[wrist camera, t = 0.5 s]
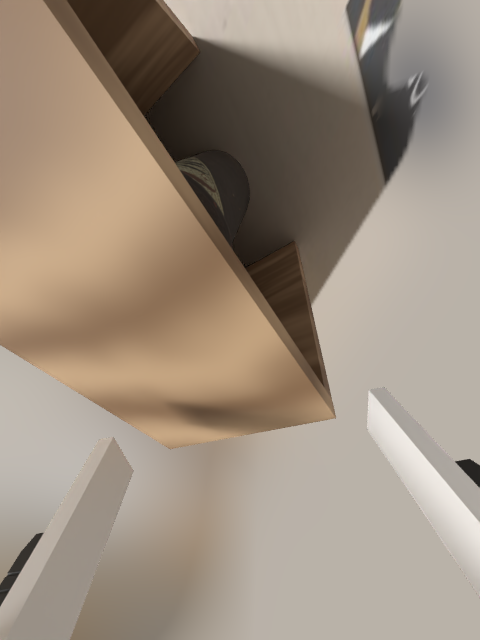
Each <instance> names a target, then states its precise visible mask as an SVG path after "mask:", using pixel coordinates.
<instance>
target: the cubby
mask: <svg viewBox="0 0 480 640" xmlns="http://www.w3.org/2000/svg"><path fill="white" fill-rule="evenodd" d="M199 53H200V51H199V49H198V47H197V45H196V43H195V41H194V39H193V37H192V35H191V34H190V33H189V32H188V30H187V29H186V28H185V27H184V25H183V24H182V23H181V22H180V20H179V19H178V18H177V17H176V15H175V14H174V13H173V12H172V11H171V9H170V8H169V7H168V6H167V4H166V3H165V2H164V1H163V0H0V345H2V346H3V347H5V348H6V349H8V350H10V351H11V352H13V353H14V354H16V355H18V356H19V357H21V358H23V359H24V360H26V361H27V362H29V363H31V364H32V365H34V366H36V367H37V368H39V369H41V370H42V371H44V372H45V373H47V374H49V375H50V376H52V377H53V378H55V379H57V380H58V381H60V382H62V383H63V384H65V385H67V386H68V387H70V388H71V389H73V390H75V391H76V392H78V393H79V394H81V395H83V396H84V397H86V398H88V399H89V400H91V401H93V402H94V403H96V404H98V405H99V406H101V407H102V408H104V409H106V410H107V411H109V412H110V413H112V414H114V415H115V416H117V417H119V418H120V419H122V420H123V421H125V422H127V423H128V424H130V425H132V426H133V427H135V428H136V429H138V430H140V431H141V432H143V433H145V434H146V435H148V436H150V437H151V438H153V439H154V440H156V441H158V442H159V443H161V444H163V445H164V446H166V447H167V448H169V449H173V448H178V447H183V446H189V445H195V444H200V443H205V442H210V441H216V440H221V439H227V438H232V437H237V436H242V435H248V434H253V433H258V432H264V431H270V430H275V429H280V428H285V427H291V426H297V425H302V424H307V423H313V422H318V421H323V420H328V419H333V418H336V415H335V411H334V406H333V402H332V398H331V393H330V389H329V384H328V380H327V375H326V371H325V366H324V362H323V358H322V353H321V348H320V344H319V339H318V335H317V331H316V327H315V322H314V317H313V313H312V308H311V304H310V299H309V295H308V290H307V286H306V281H305V277H304V272H303V268H302V263H301V259H300V254H299V250H298V247H297V245H296V243H295V241H294V242H292V243H290V244H288V245H286V246H284V247H283V248H281V249H279V250H277V251H275V252H274V253H272V254H270V255H268V256H266V257H264V258H263V259H261V260H259V261H257V262H255V263H253V264H252V265H250V266H248V267H246V268H244V266H243V265H242V263H241V262H240V260H239V259H238V257H237V256H236V254H235V253H234V251H233V250H232V248H231V247H230V245H229V244H228V242H227V241H226V239H225V238H224V236H223V235H222V233H221V232H220V230H219V229H218V227H217V226H216V224H215V223H214V221H213V220H212V218H211V217H210V215H209V214H208V212H207V211H206V209H205V208H204V206H203V205H202V203H201V202H200V200H199V199H198V197H197V196H196V194H195V193H194V191H193V190H192V188H191V187H190V185H189V184H188V182H187V181H186V179H185V178H184V176H183V175H182V173H181V172H180V170H179V169H178V167H177V166H176V164H175V163H174V161H173V160H172V158H171V157H170V155H169V154H168V152H167V151H166V149H165V148H164V146H163V145H162V143H161V142H160V140H159V139H158V137H157V136H156V134H155V133H154V131H153V129H152V128H151V126H150V125H149V123H148V122H147V120H146V119H145V117H144V115H145V114H146V113H147V111H148V110H149V109H150V108H151V107H152V106H153V105H154V104H155V102H156V101H157V100H158V99H159V98H160V97H161V96H162V95H163V93H164V92H165V91H166V90H167V89H168V88H169V87H170V86H171V84H172V83H173V82H174V81H175V80H176V79H177V78H178V77H179V75H180V74H181V73H182V72H183V71H184V70H185V69H186V68H187V66H188V65H189V64H190V63H191V62H192V61H193V60H194V59H195V57H196V56H197V55H198V54H199Z"/></svg>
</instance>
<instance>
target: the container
mask: <svg viewBox="0 0 480 640" xmlns="http://www.w3.org/2000/svg"><path fill="white" fill-rule="evenodd" d="M174 163H175V164H176V166H177V167H178V169H179V170H180V172H181V173H182V175H183V176H184V178H185V179H186V181H187V182H188V184H189V185H190V187H191V188H192V190H193V191H194V193H195V194H196V196H197V197H198V199H199V200H200V202H201V203H202V205H203V206H204V208H205V209H206V211H207V212H208V214H209V215H210V217H211V218H212V220H213V221H214V223H215V224H216V226H217V227H218V229H219V230H220V232H221V233H222V235H223V236H224V238H225V239H226V241H227V242H228V244H229V245H230V247H231V248H232V250H233V245H232V242H233V240H234V238H235V235H236V233H237V230H238V228H239V226H240V223H241V221H242V219H243V217H244V214H245V212H246V210H247V207H248V203H249V196H250V191H249V184H248V180H247V176H246V174H245V172H244V170H243V168H242V167H241V165H240V164H239V163H238V161H237V160H236V159H234V158H233V157H232V156H231V155H229V154H227V153H225V152H223V151H219V150H210V151H206V152H203V153H200V154H198V155H195V156H192V157H189V158H186V159H183V160H180V161H177V162H174Z"/></svg>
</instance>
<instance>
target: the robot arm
mask: <svg viewBox="0 0 480 640" xmlns="http://www.w3.org/2000/svg"><path fill="white" fill-rule="evenodd" d="M367 430H368V431H369V433H370V434H371V436H372V437H373V439H374V440H375V442H376V443H377V445H378V446H379V448H380V449H381V451H382V452H383V454H384V455H385V457H386V458H387V460H388V461H389V463H390V464H391V466H392V467H393V469H394V470H395V471H396V473H397V475H398V476H399V478H400V479H401V481H402V482H403V484H404V485H405V486H406V488H407V490H408V491H409V493H410V494H411V496H412V497H413V499H414V500H415V502H416V503H417V505H418V506H419V508H420V509H421V510H422V512H423V513H424V515H425V517H426V518H427V520H428V521H429V523H430V524H431V526H432V527H433V529H434V530H435V532H436V533H437V534H438V536H439V538H440V539H441V541H442V542H443V544H444V545H445V546H446V548H447V550H448V551H449V553H450V554H451V555H452V557H453V558H454V560H455V561H456V563H457V564H458V566H459V567H460V569H461V570H462V572H463V573H464V575H465V576H466V578H467V579H468V581H469V582H470V584H471V585H472V587H473V588H474V590H475V591H476V593H477V594H478V596H479V597H480V465H478V464H477V463H475V462H474V461H472V460H471V459H467V460H461V461H454V460H453V459H452V458H451V457H450V456H449V455H448V454H447V453H446V452H445V451H444V450H443V449H442V448H441V447H440V446H439V444H437V442H436V441H435V440H434V439H433V438H432V437H431V436H430V435H429V434H428V433H427V432H426V431H425V430H424V428H423V427H422V426H421V425H420V424H419V423H418V422H417V421H416V420H415V419H414V418H413V417H412V416H411V415H410V414H409V413H408V411H407V410H405V409H404V407H403V406H402V405H401V404H400V403H399V402H398V401H397V400H396V399H395V398H394V397H393V396H392V395H391V393H390V392H389V391H388V390H387V389H386V388H385V387H382V388H377V389H371V390H369V400H368V422H367ZM132 474H133V469H132V467H131V466H130V464H129V462H128V461H127V459H126V457H125V456H124V454H123V452H122V451H121V449H120V447H119V446H118V444H117V442H116V441H115V439H114V437H111V438H106V439H100V440H99V441H98V442H97V444H96V446H95V447H94V449H93V451H92V452H91V454H90V456H89V458H88V459H87V461H86V463H85V464H84V466H83V468H82V469H81V471H80V473H79V474H78V476H77V478H76V479H75V481H74V483H73V485H72V486H71V488H70V490H69V491H68V493H67V495H66V496H65V498H64V500H63V501H62V504H61V505H60V507H59V508H58V510H57V512H56V513H55V515H54V517H53V518H52V520H51V522H50V523H49V525H48V527H47V529H46V530H45V532H44V533H39V534H36V535H35V536H34V538H33V539H32V540H31V541H30V542H29V543H28V544H27V546H26V547H25V548H24V549H23V550H22V551H21V553H20V555H19V556H18V557H17V559H16V561H15V562H14V564H13V566H12V567H11V569H10V570H9V572H8V575H7V577H5V578H4V580H3V581H2V583H1V585H0V640H70V638H71V635H72V632H73V630H74V627H75V625H76V622H77V619H78V617H79V614H80V611H81V609H82V606H83V603H84V601H85V598H86V595H87V593H88V590H89V587H90V585H91V582H92V580H93V577H94V574H95V572H96V569H97V566H98V564H99V561H100V559H101V556H102V553H103V551H104V548H105V545H106V542H107V540H108V537H109V535H110V532H111V529H112V527H113V524H114V522H115V519H116V516H117V514H118V511H119V508H120V506H121V503H122V500H123V497H124V495H125V493H126V490H127V487H128V485H129V482H130V479H131V477H132Z"/></svg>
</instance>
